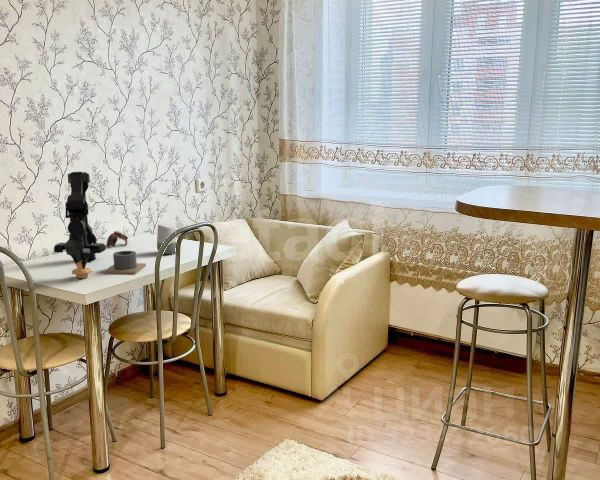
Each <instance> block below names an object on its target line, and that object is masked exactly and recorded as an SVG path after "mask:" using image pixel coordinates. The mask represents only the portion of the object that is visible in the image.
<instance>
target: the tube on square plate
mask: <svg viewBox="0 0 600 480" xmlns="http://www.w3.org/2000/svg"><path fill="white" fill-rule="evenodd" d="M112 254H113V255H112V256H113V257H112V258H113V264H112V265H111V266H109V267H108V268H106V269H105V270H103V271H104V274H105V275H136V274H138V273H139V272H141V271H142V270H143V269H145V268H146V267H147V264H146V263H143V262H142V263H139V262H138V263H137V252H136V251H134V250H120V251H115V252H113V253H112Z"/></svg>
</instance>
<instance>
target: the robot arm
mask: <svg viewBox="0 0 600 480" xmlns="http://www.w3.org/2000/svg"><path fill="white" fill-rule="evenodd" d="M67 183H68V184H70V190H71V192H70V194H69V195H68V196H67V199H66V200H67V201H65V219H69V223H68V226H67V232H68V233H69V235H68V240H66V242H58V243H57V244H55V245H54V246H53V252H54V253H63V251H65V252H66V255H69V256H70V257H71V258H72V260H73V261H74V264H75V266H76V267H77V262H79V261H81V260H82V267H83V269H85V268H87V267H86V266H87V264H88V263H92V262H93V261H95V260H96V259H97V257H96V254H101V253H104V252H105V251H106V245H105V244H104V243H101V242H100V243H98V242H97V236H96V235H95V233H93V228H92V226H90V225H89V219H88V215H89V214H90V213H89V203H88V201H87V197H86V196H87V195H86V193H87V191H88V190H89V186H90V185H89V184H90V183H91V178H90V174H89V173H87V172H86V171H71V172H70V173H67Z"/></svg>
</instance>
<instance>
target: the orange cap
mask: <svg viewBox="0 0 600 480" xmlns="http://www.w3.org/2000/svg"><path fill="white" fill-rule="evenodd" d="M91 272H92V269H91V268H90V267H85V269H83V267H82V260H81V261H79V262H77V266H76V268H74V269H72V270H71V273H72V275H75V277H76V279H87V278H88V277H89V274H90V273H91Z"/></svg>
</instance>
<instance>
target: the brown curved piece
mask: <svg viewBox="0 0 600 480" xmlns="http://www.w3.org/2000/svg"><path fill="white" fill-rule="evenodd" d="M118 239H119V240H122V241H124V242H125V243H124V246H125V247H126V246H127V245H128V239H129V237H128V236H127V235H125V234H123V233H120V232H119V231H116V230H115V231H113V233H111V234H109V236H108V238H107V240H106V245H105V247H108V248H111V247H116V243H117V242H118Z"/></svg>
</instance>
